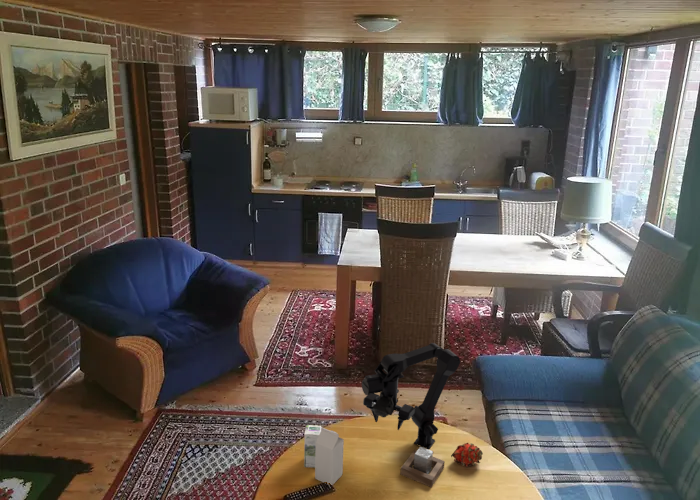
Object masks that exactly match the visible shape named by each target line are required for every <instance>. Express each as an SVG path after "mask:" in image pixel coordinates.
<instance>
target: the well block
mask: <svg viewBox="0 0 700 500" xmlns="http://www.w3.org/2000/svg"><path fill="white" fill-rule="evenodd" d="M417 450H418V449H417ZM417 450H416V449H414V450H413V451H412V452H411V453H410V455H409V456H408V457H407V459H406V460H405V462H404V463H403V464H402V466H400V475H401V476H403V477H406V478H408V479H410V480H412V481H414V482H418V483H420V484H422V485H425V486H428V487H430V488H432V487H433V486H434V485H435V482H436V481H437V480H438V478H439V477H440V475H441V473H442V472H443V470H444V469H445V462H446V461H445V460H443V459H440V458H439V457H438V458H437V457H436V456H433V457H432V469H431V471H430V473H429V474H426V473H423V472H421V471H418V470H416V469H414V456H415V453H416V452H417Z"/></svg>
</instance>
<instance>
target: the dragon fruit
mask: <svg viewBox="0 0 700 500" xmlns="http://www.w3.org/2000/svg"><path fill="white" fill-rule="evenodd" d="M483 455H484V453H483V451H482V450H481V449H480V447H478V446H477V445H475V444H474V443H469V442H466V443H465V442H464V443H463V444H459V445H458V446H457V447H456V448H455V450H454V451H453V452H452V453H451V455H450V457H451V458H454V459H453V461H454V462H456V463H457V464H461V466H466V468H468V467H471V466H477V464H480V463H481V460H482V458H483Z"/></svg>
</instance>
